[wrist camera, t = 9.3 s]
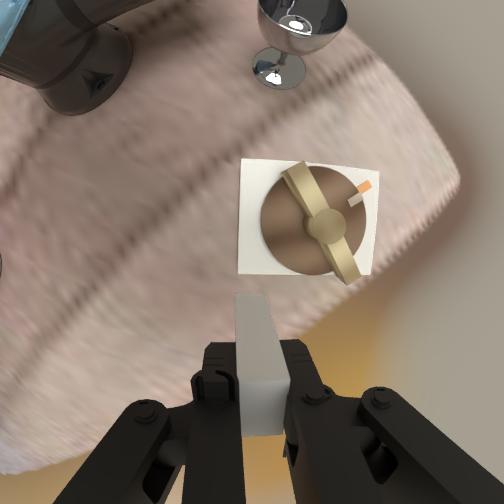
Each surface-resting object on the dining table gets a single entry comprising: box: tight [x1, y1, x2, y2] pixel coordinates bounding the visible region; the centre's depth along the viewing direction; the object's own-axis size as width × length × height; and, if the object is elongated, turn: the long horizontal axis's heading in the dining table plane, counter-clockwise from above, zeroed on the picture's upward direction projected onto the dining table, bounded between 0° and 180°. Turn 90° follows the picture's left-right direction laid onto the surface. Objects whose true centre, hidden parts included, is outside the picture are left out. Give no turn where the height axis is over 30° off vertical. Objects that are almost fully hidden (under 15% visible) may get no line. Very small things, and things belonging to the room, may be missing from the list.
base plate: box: [238, 158, 379, 275], centre depth 33 cm, size 14×18×2 cm
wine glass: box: [252, 0, 348, 90], centre depth 22 cm, size 8×8×15 cm
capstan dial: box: [261, 161, 366, 285], centre depth 30 cm, size 14×13×6 cm
